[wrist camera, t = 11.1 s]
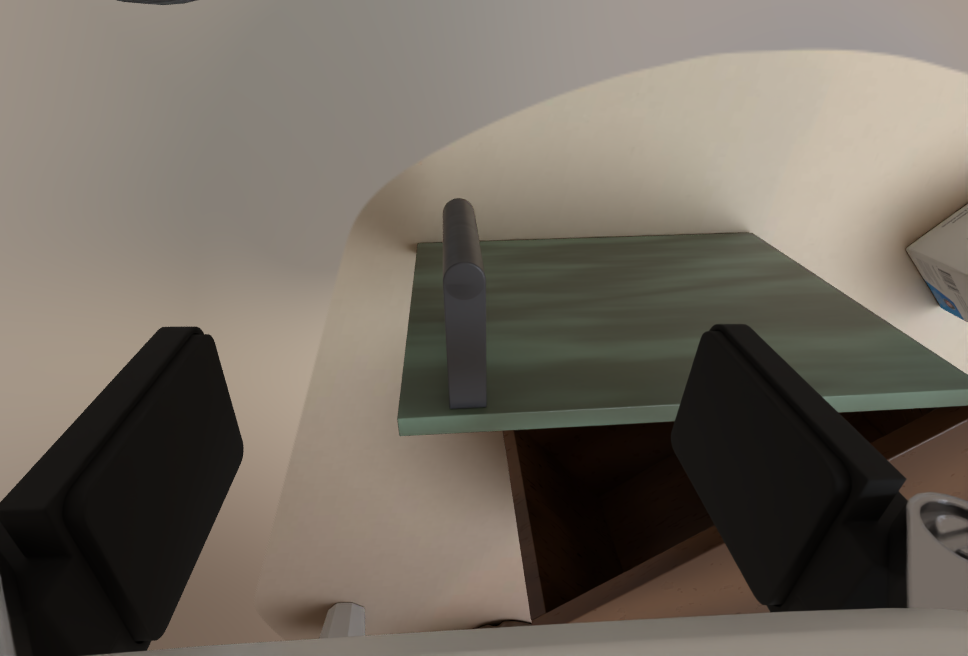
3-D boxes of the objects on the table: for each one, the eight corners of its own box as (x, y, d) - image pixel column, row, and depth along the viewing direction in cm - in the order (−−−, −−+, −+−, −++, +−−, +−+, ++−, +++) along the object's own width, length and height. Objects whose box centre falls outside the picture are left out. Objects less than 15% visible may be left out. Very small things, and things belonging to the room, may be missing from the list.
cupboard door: (410, 150, 35) (378, 269, 17) (777, 142, 36) (1080, 245, 19) (418, 255, 39) (399, 436, 21) (748, 244, 40) (977, 405, 23)
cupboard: (500, 417, 48) (533, 640, 30) (753, 244, 40) (989, 408, 23) (592, 499, 55) (662, 718, 37) (822, 363, 47) (1045, 559, 30)
